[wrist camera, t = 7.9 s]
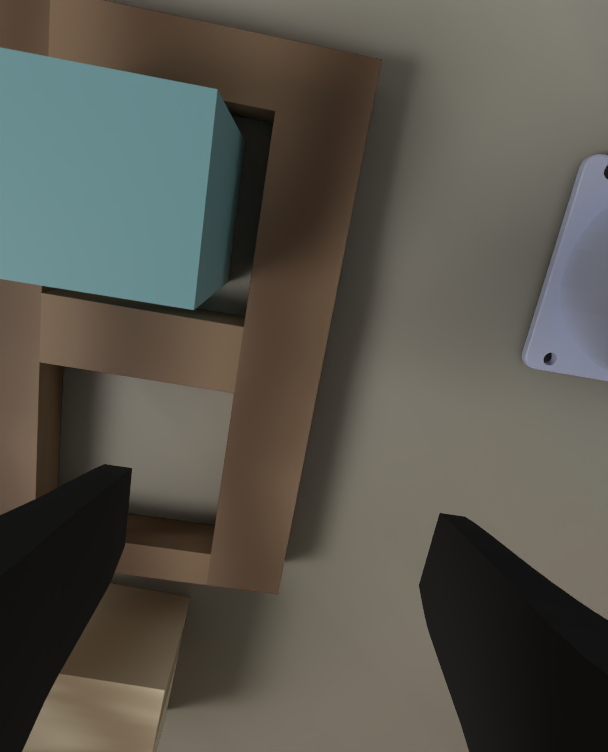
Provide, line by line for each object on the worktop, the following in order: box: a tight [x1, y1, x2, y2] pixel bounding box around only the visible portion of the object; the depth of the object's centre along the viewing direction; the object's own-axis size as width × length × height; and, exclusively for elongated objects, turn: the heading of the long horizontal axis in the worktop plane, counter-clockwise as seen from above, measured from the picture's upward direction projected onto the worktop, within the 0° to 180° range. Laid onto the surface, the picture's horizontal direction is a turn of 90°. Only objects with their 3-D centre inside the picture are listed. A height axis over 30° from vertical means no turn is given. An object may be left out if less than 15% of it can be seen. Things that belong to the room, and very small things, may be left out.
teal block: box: [0, 47, 245, 310], centre depth 15 cm, size 5×5×7 cm
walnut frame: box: [0, 0, 382, 594], centre depth 19 cm, size 13×20×2 cm, turn 170°
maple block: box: [22, 583, 190, 752], centre depth 22 cm, size 5×5×7 cm
